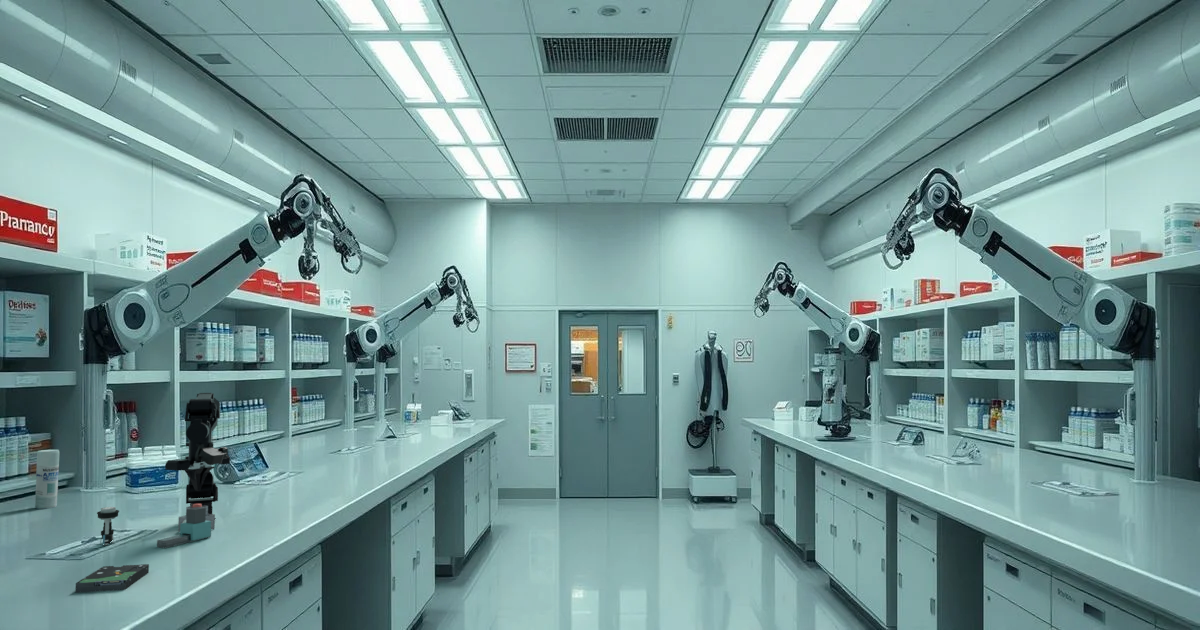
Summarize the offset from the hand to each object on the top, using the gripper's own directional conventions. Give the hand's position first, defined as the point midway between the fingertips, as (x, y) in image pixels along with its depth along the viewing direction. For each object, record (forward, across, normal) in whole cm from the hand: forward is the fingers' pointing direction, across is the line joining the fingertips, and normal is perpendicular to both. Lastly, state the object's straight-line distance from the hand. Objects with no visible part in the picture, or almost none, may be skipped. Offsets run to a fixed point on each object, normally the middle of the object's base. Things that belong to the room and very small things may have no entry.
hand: (197, 490), depth 233 cm
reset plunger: (+7, 0, 0) cm, 7 cm away
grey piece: (+12, 0, 0) cm, 12 cm away
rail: (+12, -12, -10) cm, 20 cm away
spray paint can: (+12, +7, +83) cm, 84 cm away
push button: (+12, -22, +8) cm, 27 cm away
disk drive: (+13, -47, -30) cm, 57 cm away
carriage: (+12, -8, -10) cm, 17 cm away
